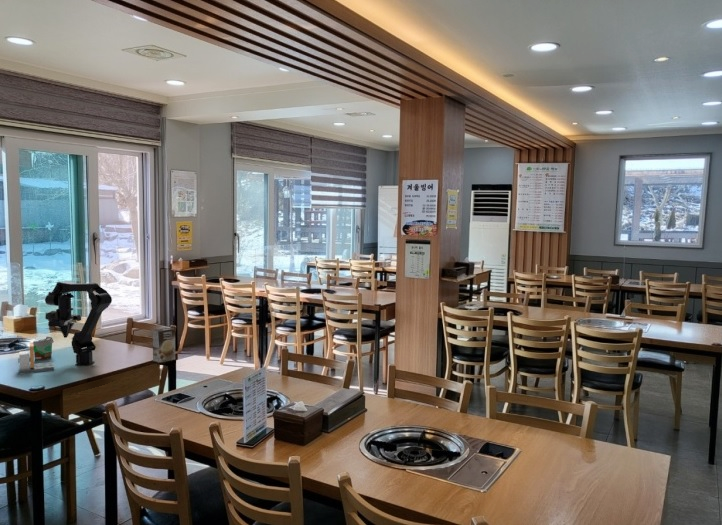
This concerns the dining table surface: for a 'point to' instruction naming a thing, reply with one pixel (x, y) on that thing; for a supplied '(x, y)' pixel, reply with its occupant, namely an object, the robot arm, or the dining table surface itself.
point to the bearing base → (38, 367)
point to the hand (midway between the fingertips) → (65, 337)
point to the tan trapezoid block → (31, 355)
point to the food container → (43, 349)
